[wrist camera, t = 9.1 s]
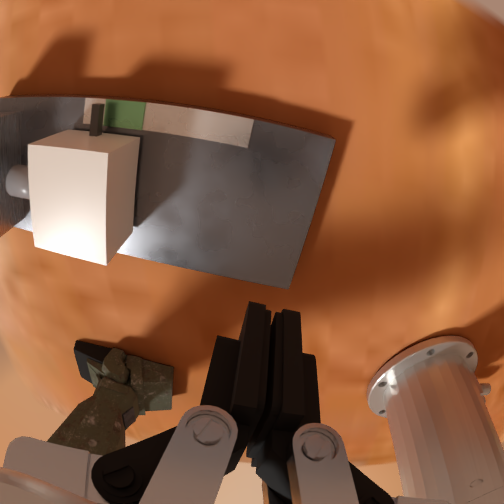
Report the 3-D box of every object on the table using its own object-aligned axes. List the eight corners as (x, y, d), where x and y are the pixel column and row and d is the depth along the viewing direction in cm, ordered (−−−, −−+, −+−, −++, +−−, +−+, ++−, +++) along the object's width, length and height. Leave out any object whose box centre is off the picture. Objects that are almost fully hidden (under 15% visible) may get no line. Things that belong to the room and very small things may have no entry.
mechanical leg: (55, 371, 29) (40, 622, 4) (40, 327, 26) (5, 628, 1) (171, 383, 33) (207, 644, 8) (173, 341, 30) (219, 663, 5)
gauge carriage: (144, 106, 15) (111, 114, 12) (133, 231, 19) (106, 265, 16) (35, 100, 15) (-7, 110, 11) (35, 210, 19) (1, 236, 15)
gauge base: (330, 135, 17) (360, 161, 12) (287, 276, 22) (292, 343, 17) (8, 95, 16) (-55, 112, 10) (11, 215, 21) (-38, 254, 15)
